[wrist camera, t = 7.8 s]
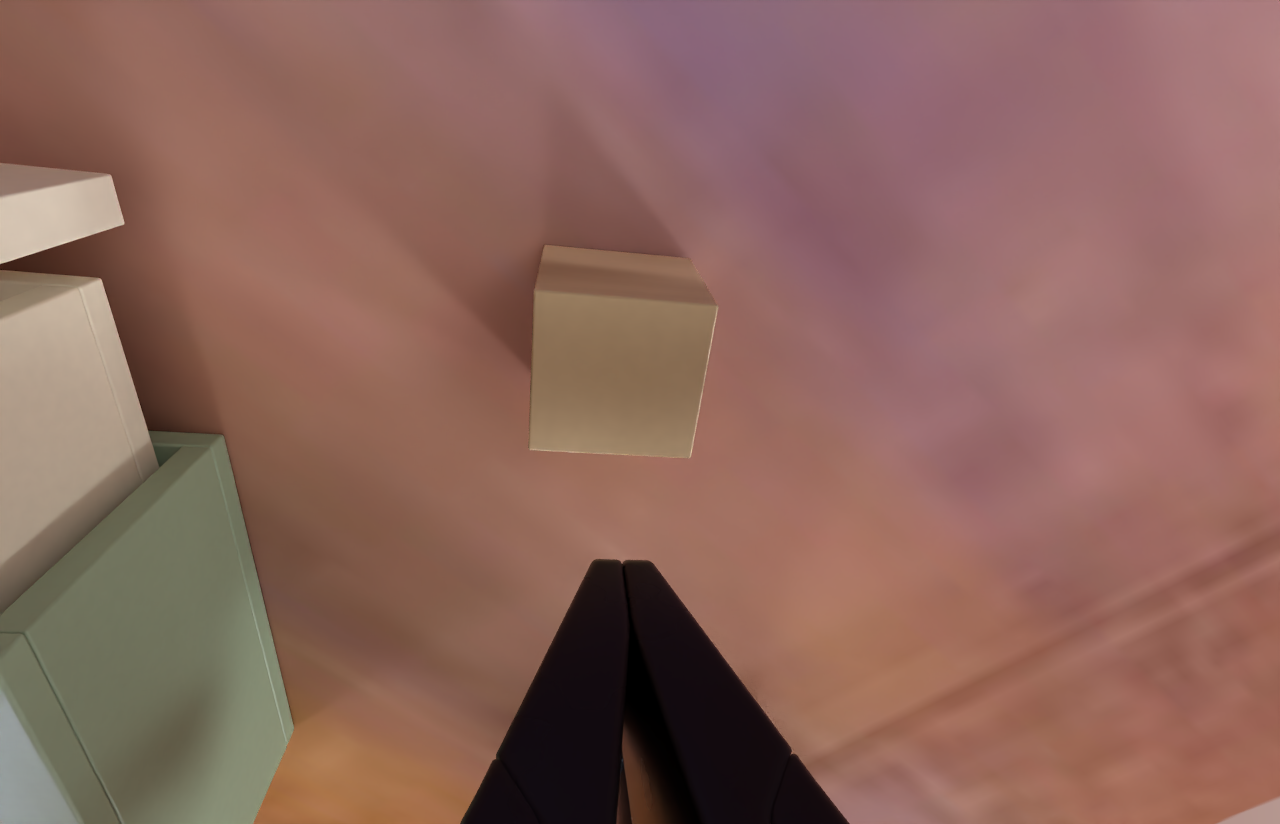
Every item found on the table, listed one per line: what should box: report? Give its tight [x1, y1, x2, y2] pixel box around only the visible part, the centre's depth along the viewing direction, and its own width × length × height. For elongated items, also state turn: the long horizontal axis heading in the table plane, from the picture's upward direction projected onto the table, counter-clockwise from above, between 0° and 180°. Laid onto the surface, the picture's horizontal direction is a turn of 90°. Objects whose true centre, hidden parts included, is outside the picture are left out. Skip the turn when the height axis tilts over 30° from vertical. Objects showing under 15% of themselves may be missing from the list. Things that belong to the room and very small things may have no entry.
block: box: [528, 245, 718, 458], centre depth 16 cm, size 4×4×4 cm
